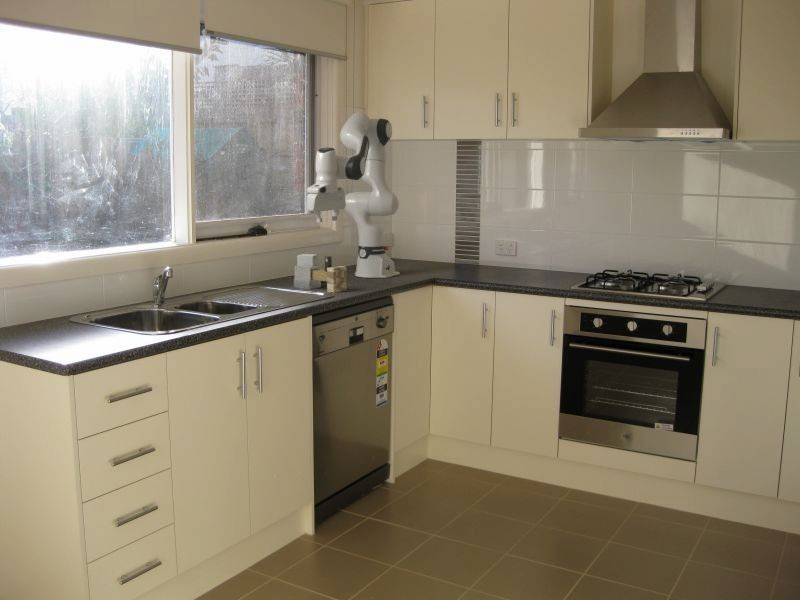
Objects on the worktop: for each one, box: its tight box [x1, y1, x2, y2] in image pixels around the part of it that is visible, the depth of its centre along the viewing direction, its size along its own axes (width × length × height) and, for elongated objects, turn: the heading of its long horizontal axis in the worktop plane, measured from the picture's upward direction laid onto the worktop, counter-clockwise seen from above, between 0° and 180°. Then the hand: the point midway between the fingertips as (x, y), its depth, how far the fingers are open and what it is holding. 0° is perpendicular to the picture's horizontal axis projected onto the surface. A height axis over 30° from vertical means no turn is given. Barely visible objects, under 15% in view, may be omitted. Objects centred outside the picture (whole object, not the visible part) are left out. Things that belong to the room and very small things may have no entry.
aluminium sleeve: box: [293, 265, 322, 290], centre depth 368 cm, size 7×9×9 cm
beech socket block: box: [326, 265, 348, 294], centre depth 358 cm, size 8×4×10 cm, turn 142°
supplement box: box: [296, 253, 319, 266], centre depth 380 cm, size 7×7×13 cm
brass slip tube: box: [311, 255, 333, 282], centre depth 361 cm, size 4×16×10 cm, turn 52°
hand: (327, 221), depth 360 cm, fingers open, 8 cm apart
